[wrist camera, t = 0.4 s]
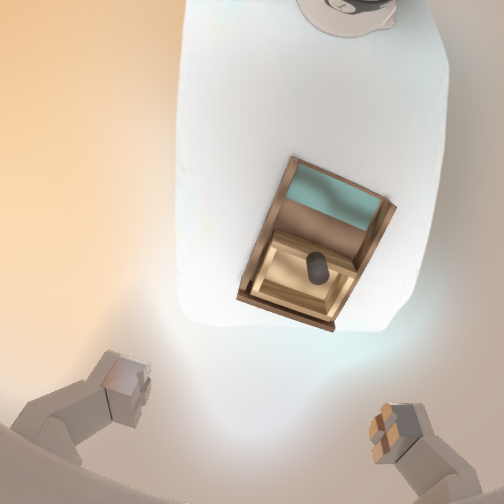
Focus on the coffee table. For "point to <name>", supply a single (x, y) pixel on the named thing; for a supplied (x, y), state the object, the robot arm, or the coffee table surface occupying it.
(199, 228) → the coffee table surface
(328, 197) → the bay
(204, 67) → the coffee table surface
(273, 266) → the crate
